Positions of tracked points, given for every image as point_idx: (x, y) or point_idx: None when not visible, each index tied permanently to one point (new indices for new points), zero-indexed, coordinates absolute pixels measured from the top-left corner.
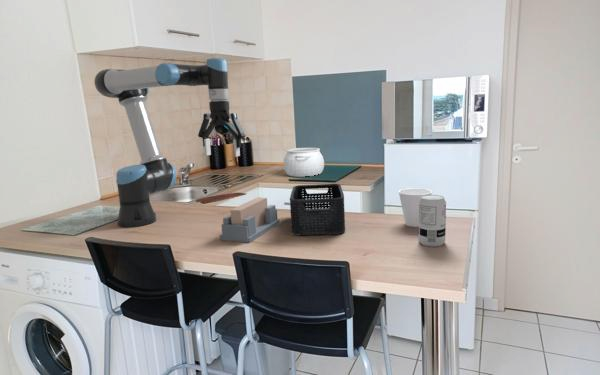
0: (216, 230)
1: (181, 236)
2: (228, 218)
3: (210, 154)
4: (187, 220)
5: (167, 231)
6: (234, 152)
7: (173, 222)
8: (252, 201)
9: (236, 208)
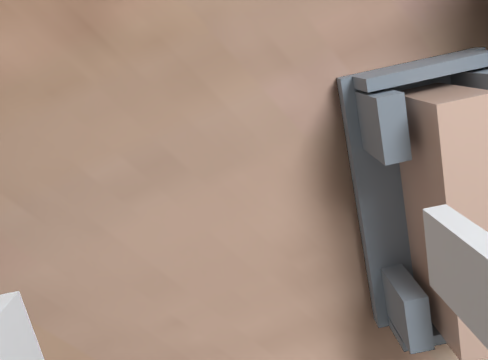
0: (279, 250)
1: (214, 355)
2: (433, 343)
3: (19, 299)
4: (38, 204)
5: (111, 341)
6: (454, 310)
7: (12, 253)
8: (466, 198)
9: (473, 335)
